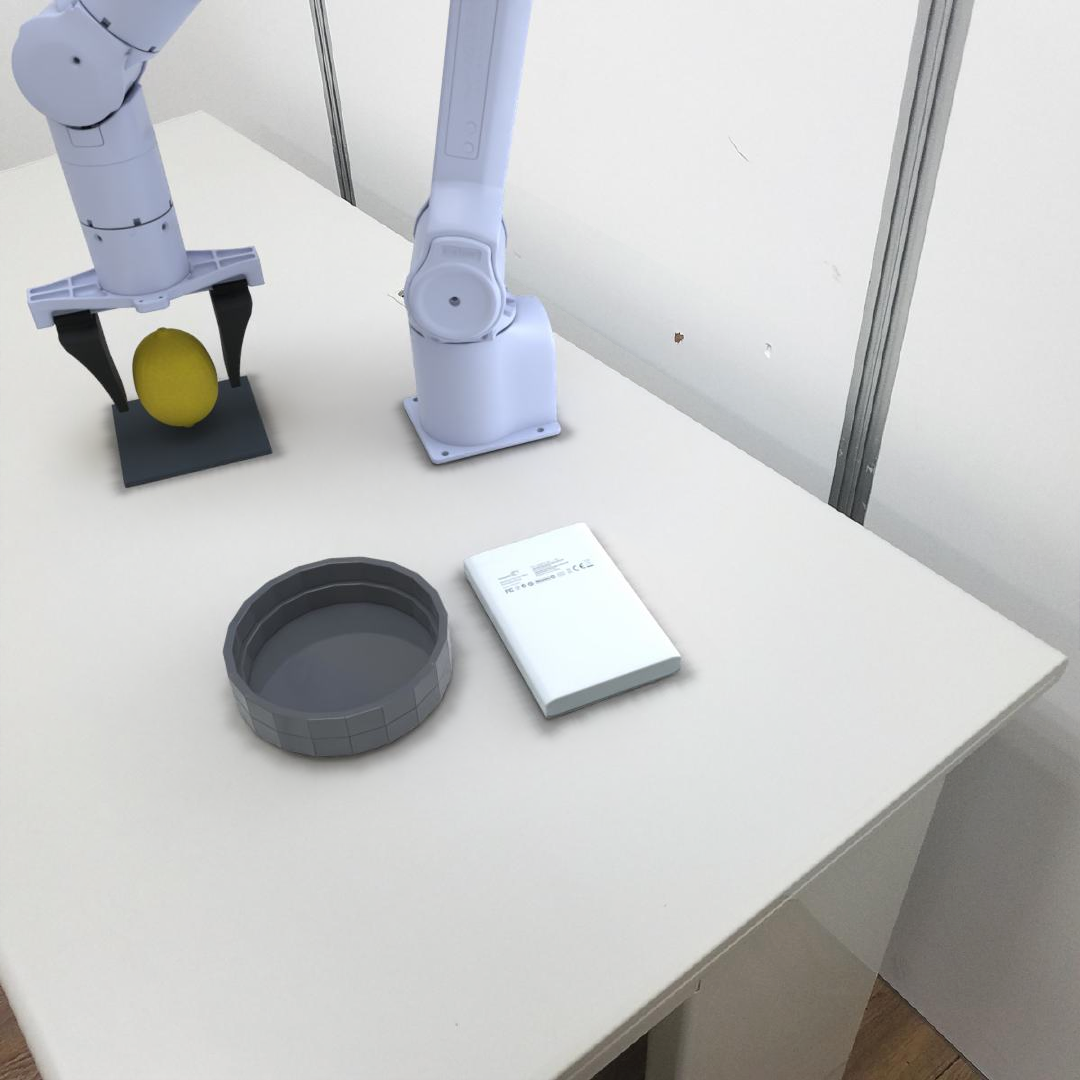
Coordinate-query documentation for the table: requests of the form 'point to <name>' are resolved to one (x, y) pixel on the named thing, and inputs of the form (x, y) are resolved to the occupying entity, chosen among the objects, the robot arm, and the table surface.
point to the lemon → (174, 377)
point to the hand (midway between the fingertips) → (179, 392)
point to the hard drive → (570, 619)
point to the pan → (339, 655)
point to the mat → (190, 437)
